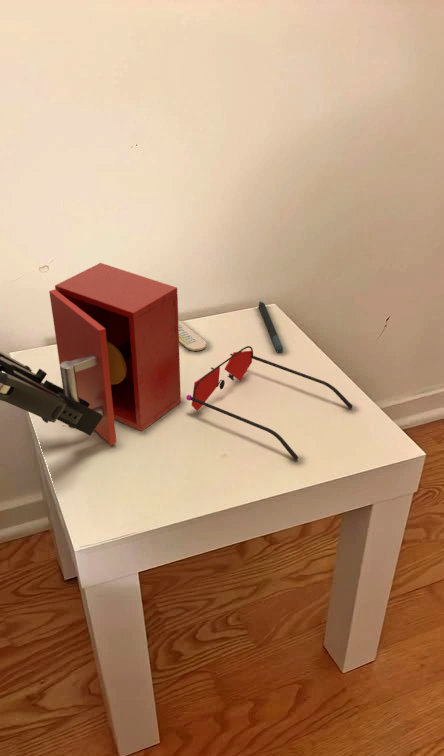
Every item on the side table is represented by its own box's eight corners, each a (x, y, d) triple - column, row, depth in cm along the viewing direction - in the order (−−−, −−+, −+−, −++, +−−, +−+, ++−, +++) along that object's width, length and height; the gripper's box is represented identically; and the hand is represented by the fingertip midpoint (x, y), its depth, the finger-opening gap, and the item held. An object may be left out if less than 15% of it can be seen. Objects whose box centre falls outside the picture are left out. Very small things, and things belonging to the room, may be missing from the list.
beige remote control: (156, 319, 117) (173, 314, 118) (156, 322, 117) (173, 318, 119) (192, 348, 110) (210, 343, 111) (192, 352, 111) (210, 347, 112)
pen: (263, 304, 123) (263, 297, 122) (283, 353, 111) (284, 346, 110) (256, 305, 123) (256, 298, 122) (276, 354, 111) (276, 347, 110)
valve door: (78, 457, 91) (62, 342, 81) (33, 411, 98) (14, 300, 89) (116, 442, 93) (105, 328, 84) (70, 398, 100) (55, 289, 91)
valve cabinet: (141, 431, 96) (133, 313, 86) (70, 400, 101) (54, 285, 91) (181, 402, 101) (177, 287, 91) (111, 374, 106) (100, 262, 96)
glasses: (246, 369, 107) (247, 336, 104) (352, 408, 100) (357, 375, 97) (184, 415, 99) (184, 381, 95) (296, 462, 91) (299, 427, 88)
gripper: (-133, 330, 79) (42, 414, 96) (-82, 397, 69) (103, 477, 87) (-94, 268, 78) (75, 364, 96) (-36, 326, 68) (140, 422, 86)
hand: (88, 418), depth 91 cm, fingers open, 2 cm apart
